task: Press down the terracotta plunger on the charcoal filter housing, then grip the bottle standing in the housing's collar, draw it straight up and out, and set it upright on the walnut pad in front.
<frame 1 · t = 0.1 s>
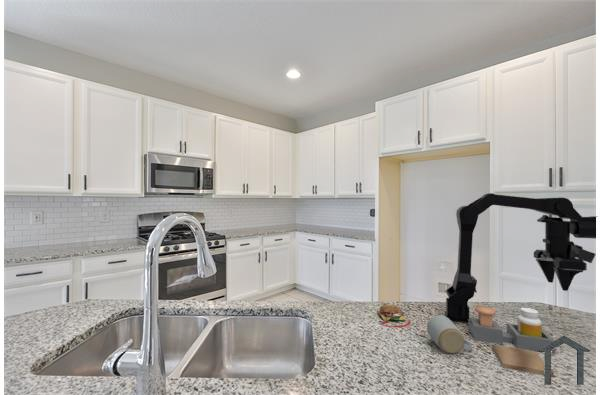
hand: (557, 286, 88), 15 cm above the table, tool pointing down, fingers open, 9 cm apart
grey cylindrical canister: (450, 348, 79), on the table
walnut pad: (520, 361, 72), on the table
supplement bottle: (529, 344, 81), resting in filter housing
hamburger: (389, 320, 98), on the table
filter housing: (512, 341, 82), on the table
plunger: (485, 317, 85), point 6 cm above the table, slide at 0.0 cm
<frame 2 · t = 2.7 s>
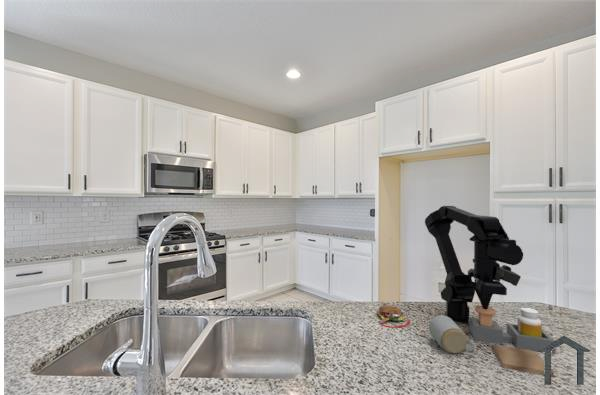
hand: (485, 308, 85), 8 cm above the table, tool pointing down, fingers closed, pressing on plunger
plunger: (485, 317, 85), point 6 cm above the table, slide at 0.0 cm, touching gripper
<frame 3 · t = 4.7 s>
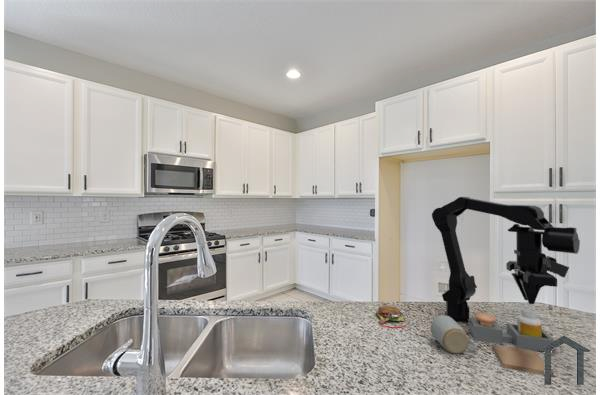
hand: (529, 302, 81), 12 cm above the table, tool pointing down, fingers open, 3 cm apart
plunger: (485, 324, 85), point 4 cm above the table, slide at 2.1 cm
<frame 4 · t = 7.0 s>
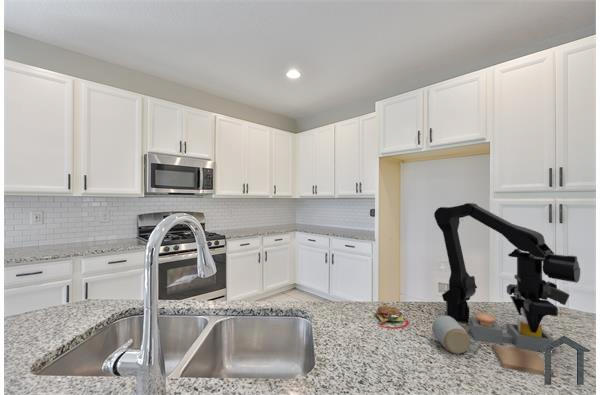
hand: (529, 327, 81), 5 cm above the table, tool pointing down, fingers closed on supplement bottle, 5 cm apart
supplement bottle: (529, 344, 81), resting in filter housing, touching gripper
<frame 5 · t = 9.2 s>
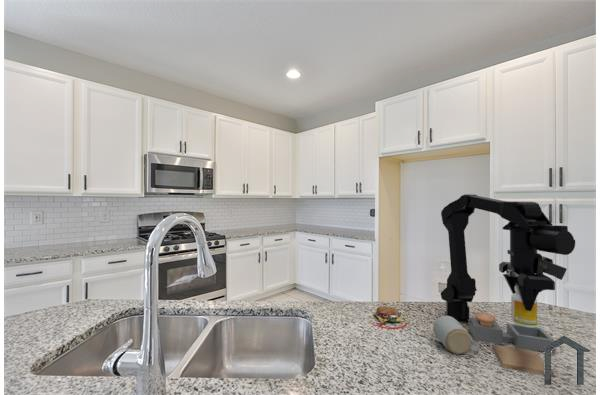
hand: (523, 306, 74), 13 cm above the table, tool pointing down, fingers closed on supplement bottle, 5 cm apart
supplement bottle: (524, 324, 74), point 8 cm above the table, touching gripper
when the fingers open (7 cm above the table, at t = 11.5 s): supplement bottle drops 1 cm, resting on walnut pad.
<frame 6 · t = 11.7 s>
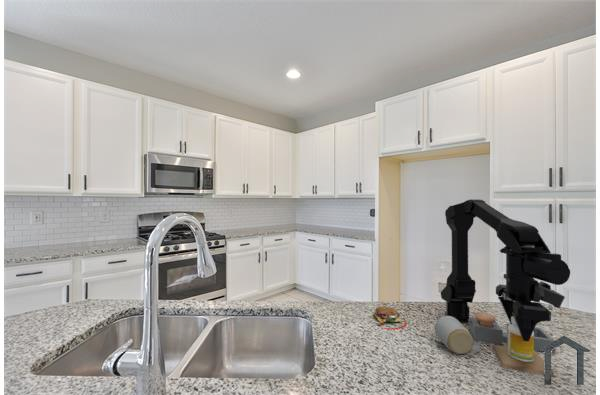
hand: (519, 333, 72), 7 cm above the table, tool pointing down, fingers open, 8 cm apart
supplement bottle: (520, 357, 72), point 1 cm above the table, touching walnut pad
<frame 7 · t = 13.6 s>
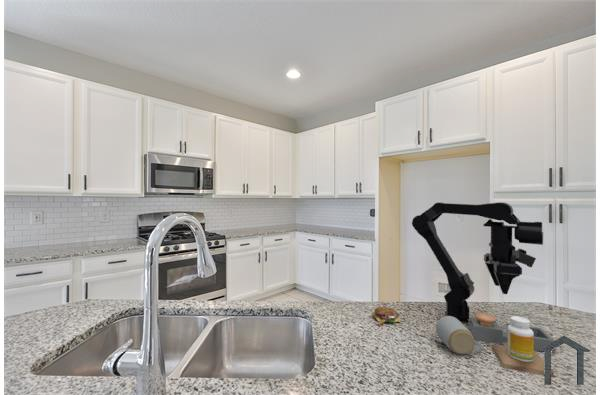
hand: (500, 289, 90), 13 cm above the table, tool pointing down, fingers open, 9 cm apart
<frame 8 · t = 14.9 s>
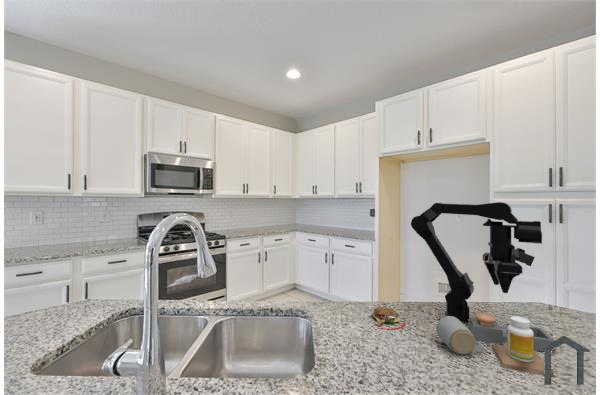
hand: (500, 288, 90), 13 cm above the table, tool pointing down, fingers open, 9 cm apart
at the end: plunger slide at 2.1 cm; supplement bottle inside the target area (0.1 cm from its centre), point 0.8 cm above the table; supplement bottle tilted 0° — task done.
